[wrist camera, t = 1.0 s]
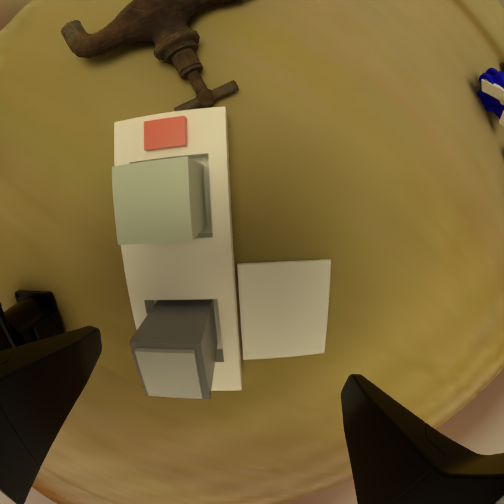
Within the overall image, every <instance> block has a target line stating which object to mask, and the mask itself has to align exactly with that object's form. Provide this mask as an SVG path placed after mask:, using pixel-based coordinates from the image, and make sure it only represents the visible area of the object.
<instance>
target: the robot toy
mask: <svg viewBox="0 0 504 504" xmlns="http://www.w3.org/2000/svg"><path fill="white" fill-rule="evenodd" d="M479 81H480V83H481V87H482V89H481V90H480V91H478V92H477V95H478V96H479V97H480V99H481V101H482V102H483V104H484V106H485V110H486V111H493V112H494V113H495V114H496V115H497V116H498V117H499V123H500V124H501V125H502V126H503V127H504V71H501V72H500V71H499V72H498V71H497V70H496V69H494V68H489V69H488V70H487V71H486V73H483V74H482V75H481V76H480V78H479Z"/></svg>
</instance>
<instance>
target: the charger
mask: <svg viewBox="0 0 504 504" xmlns="http://www.w3.org/2000/svg"><path fill="white" fill-rule="evenodd" d="M217 345H218V340H217V332H216V322H215V313H214V303H213V299H194V300H157V302H156V303H155V305H154V306H153V308H152V309H151V311H150V312H149V313H148V315H147V316H146V318H145V319H144V321H143V322H142V324H141V325H140V327H139V328H138V330H137V331H136V333H135V334H134V336H133V337H132V339H131V340H130V346H131V349H132V353H133V356H134V360H135V363H136V366H137V370H138V373H139V376H140V379H141V382H142V385H143V388H144V391H145V393H146V395H147V396H158V397H172V398H192V399H210V397H211V389H212V381H213V374H214V367H215V360H216V352H217Z"/></svg>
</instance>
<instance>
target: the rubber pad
mask: <svg viewBox="0 0 504 504" xmlns="http://www.w3.org/2000/svg"><path fill="white" fill-rule="evenodd" d="M237 268H238V285H239V302H240V317H241V333H242V348H243V360H248V359H266V358H280V357H292V356H302V355H311V354H320V353H324V350H325V340H326V330H327V318H328V305H329V289H330V269H331V260H330V259H314V260H295V261H276V262H255V263H237Z"/></svg>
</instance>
